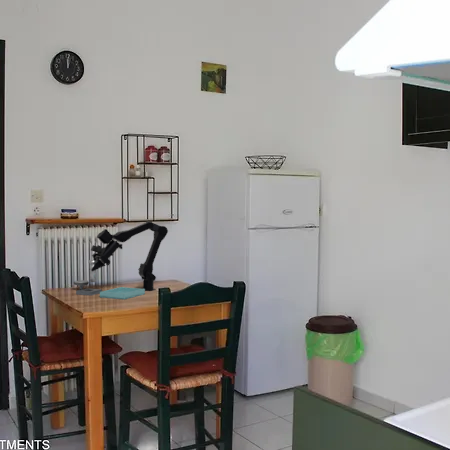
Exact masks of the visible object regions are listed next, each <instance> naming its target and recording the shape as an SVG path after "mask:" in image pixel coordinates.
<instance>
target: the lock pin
mask: <svg viewBox="0 0 450 450" xmlns="http://www.w3.org/2000/svg"><path fill="white" fill-rule="evenodd" d="M88 263H89V269H90V270H89V271H90V272H89V274H90V275H89V276H90V277H89V279H90V281H89V283H97V269H96V270H94V271H91V269H92V268H93V266H94V265H95V263H96V260H91V259H89V260H88Z"/></svg>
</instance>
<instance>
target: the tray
mask: <svg viewBox="0 0 450 450" xmlns="http://www.w3.org/2000/svg"><path fill="white" fill-rule="evenodd" d="M145 294H146V291H145V289H143V288H139V287H138V288H136V287H127V286H125V287H123V286H119V287H115V288H110V289H107V290H102V291H101V292H100V294H99V298H101V299H102V298H103V299H104V298H105V299H115V300H127V299H128V300H129V299H132V298H135V297H139V296H144V295H145Z"/></svg>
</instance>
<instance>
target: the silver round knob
mask: <svg viewBox="0 0 450 450" xmlns="http://www.w3.org/2000/svg"><path fill="white" fill-rule="evenodd" d="M89 284H90V281H89V280H84V279H83V280H82V279H80V280H74V281H73V285H74V286H79V290H82V289H84V286H88V285H89Z"/></svg>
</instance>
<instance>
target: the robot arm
mask: <svg viewBox="0 0 450 450" xmlns="http://www.w3.org/2000/svg"><path fill="white" fill-rule="evenodd" d="M147 230H150V231H152V232H153V240H152V244H151V245H150V248H149V251H148V253H147V256H146V259H145V261H144V262H143V263H140V266H139V267H138V274H139V276H140V277H141V280H143V283H142V285H143V287H142V289H145V292H153V291H157V289H156V288H154V283H155V281H156V278H157V276H156V275H155V274H153V270H154V266H153V265H154V261H155V259H156V256H157V254H158V252H159V248H160V246H161V244H162V242H163V240H164V239H165V237H167V234H168V232H169V230H168V228H167V227H166V226H164V225H159V224H157V223H154V222H152V221H146V222H144V223H142V224H139V225H137V226H134V227H132V228H130V229H127V230H121V231H117V232H116V233H114V234H111V233H110V232H109V230H108V229H106V228H104V229H103V230H102V231H101V232H98V234H97V235H96V238H97V239H98V240H99V241H100V242H101V243H102V244H103V245H106V246H104V247H102V246H101V245H95V244H94V245H93V244H92V246H91V249H90V251H91V252H94V253H93V254H92V255H91V257H92V258H93V260H96V263H95V265H94V266H93V268H92V269H91V271H94V270H96V271H97V270H98V269H101V268H103V267H106V266H110V264H111V260H110V257H111V256H112V257H113V255H114V253H115V252H116V251H117V250H118V249H120V250H123V244H122V243H126V242H128V241H129V240H130V239H131V238H132V237H134V236H136V235H138V234H141V233H143V232H145V231H147ZM89 271H90V268H89Z"/></svg>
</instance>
